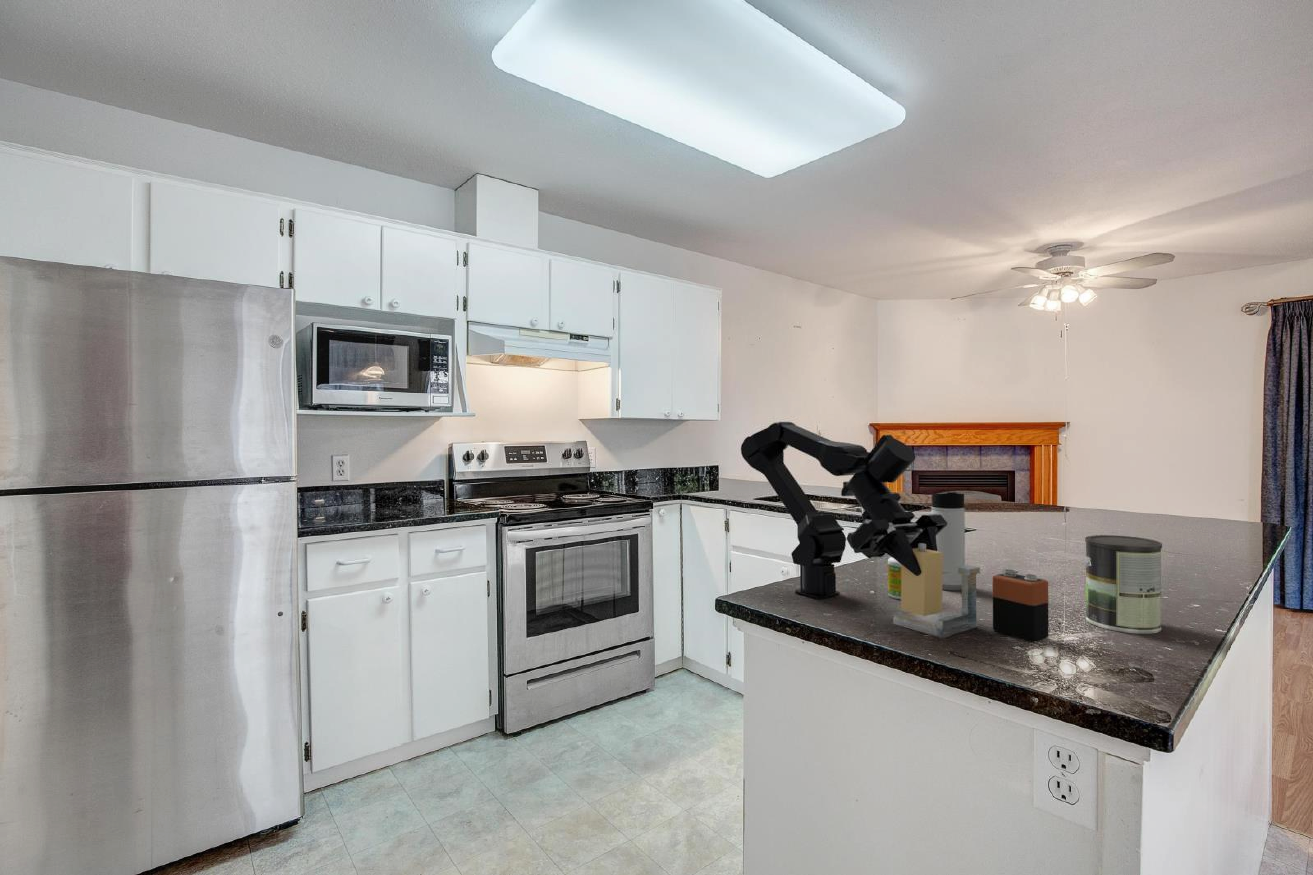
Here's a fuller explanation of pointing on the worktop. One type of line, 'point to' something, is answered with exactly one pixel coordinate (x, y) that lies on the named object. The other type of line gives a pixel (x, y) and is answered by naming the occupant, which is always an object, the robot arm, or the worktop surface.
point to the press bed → (944, 621)
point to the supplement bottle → (894, 578)
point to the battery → (1020, 605)
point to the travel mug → (951, 537)
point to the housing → (923, 583)
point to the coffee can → (1123, 583)
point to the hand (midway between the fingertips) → (929, 573)
